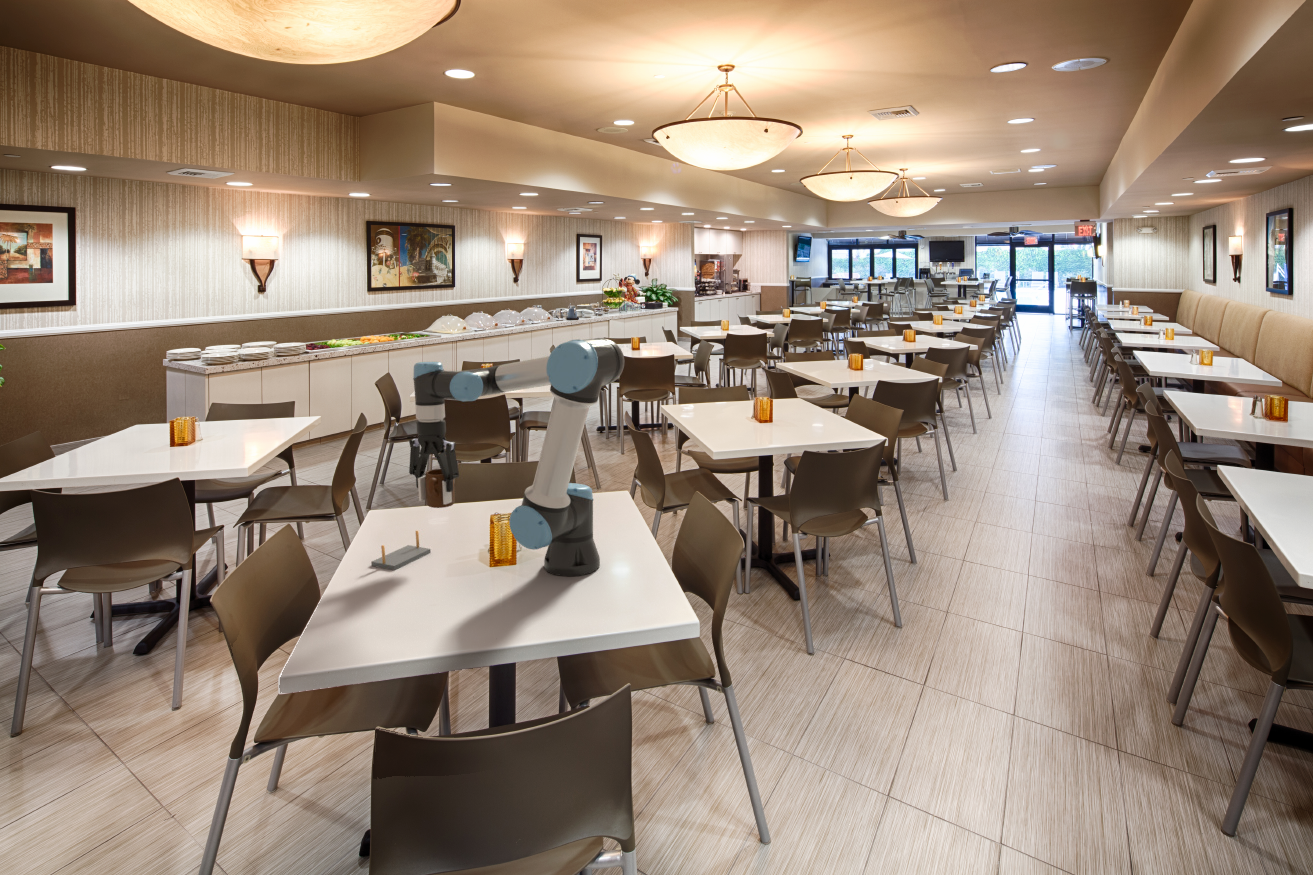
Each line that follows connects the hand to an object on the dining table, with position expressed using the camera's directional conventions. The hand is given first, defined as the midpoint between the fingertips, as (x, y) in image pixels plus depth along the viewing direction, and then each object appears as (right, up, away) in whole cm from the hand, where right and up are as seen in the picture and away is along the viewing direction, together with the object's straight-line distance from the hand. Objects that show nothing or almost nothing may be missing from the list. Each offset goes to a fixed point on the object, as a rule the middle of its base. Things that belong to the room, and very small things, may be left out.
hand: (435, 501), depth 201 cm
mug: (+1, -2, 0) cm, 2 cm away
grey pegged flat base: (-11, -17, +4) cm, 20 cm away
